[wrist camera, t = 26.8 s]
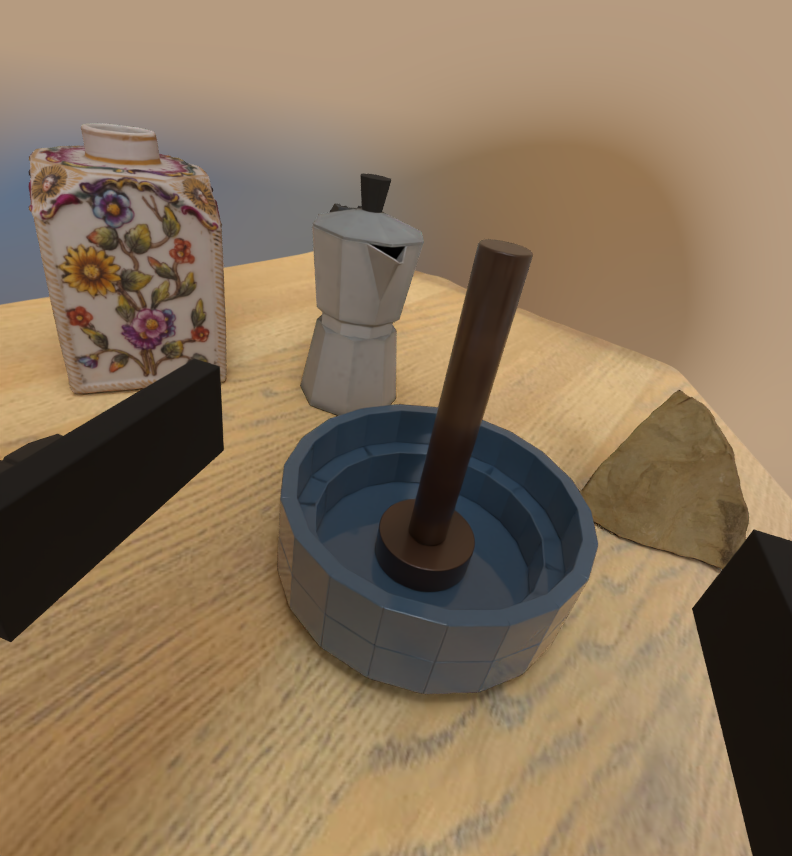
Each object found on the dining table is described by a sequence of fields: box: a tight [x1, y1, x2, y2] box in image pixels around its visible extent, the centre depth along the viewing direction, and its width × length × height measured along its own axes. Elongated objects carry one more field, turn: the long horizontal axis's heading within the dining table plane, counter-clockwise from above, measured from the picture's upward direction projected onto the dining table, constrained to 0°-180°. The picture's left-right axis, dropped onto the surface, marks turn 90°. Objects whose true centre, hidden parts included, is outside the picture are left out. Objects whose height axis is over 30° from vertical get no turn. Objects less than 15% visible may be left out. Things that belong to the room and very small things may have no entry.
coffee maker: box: [300, 174, 424, 416], centre depth 41 cm, size 15×9×18 cm, turn 23°
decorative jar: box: [29, 123, 227, 394], centre depth 39 cm, size 12×12×18 cm
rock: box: [580, 390, 749, 569], centre depth 33 cm, size 11×9×10 cm
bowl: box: [277, 404, 598, 694], centre depth 28 cm, size 17×17×6 cm
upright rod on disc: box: [375, 239, 533, 592], centre depth 24 cm, size 6×6×18 cm
